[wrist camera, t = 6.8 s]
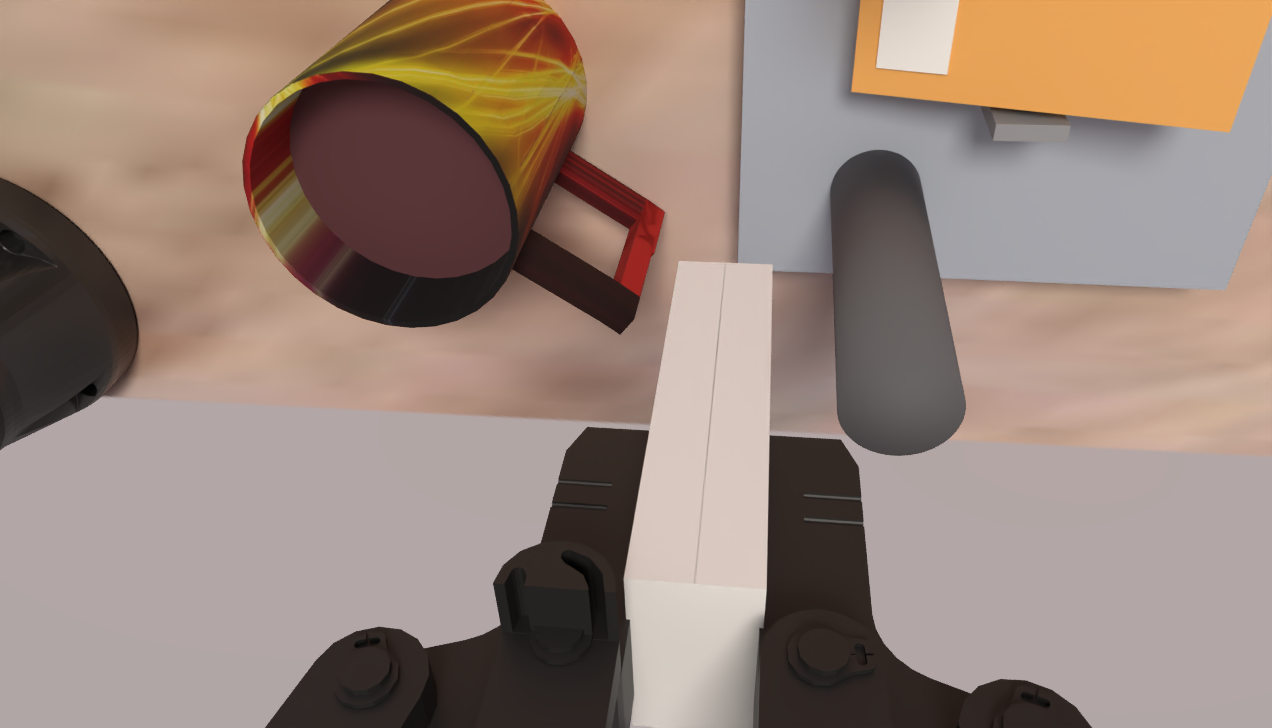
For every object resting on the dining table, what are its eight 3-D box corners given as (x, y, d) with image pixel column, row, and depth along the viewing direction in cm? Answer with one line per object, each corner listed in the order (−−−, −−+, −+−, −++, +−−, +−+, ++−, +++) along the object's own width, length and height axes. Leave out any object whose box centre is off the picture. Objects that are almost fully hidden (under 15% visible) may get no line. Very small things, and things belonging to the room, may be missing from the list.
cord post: (827, 228, 39) (832, 451, 28) (834, 148, 37) (842, 356, 26) (914, 231, 39) (954, 459, 28) (927, 150, 37) (975, 363, 26)
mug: (665, 215, 44) (625, 371, 34) (379, 163, 44) (261, 302, 35) (698, 6, 38) (660, 124, 28) (367, -51, 38) (222, 46, 29)
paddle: (860, 78, 35) (850, 96, 34) (879, -104, 31) (868, -93, 30) (1225, 116, 31) (1229, 137, 29) (1297, -89, 27) (1305, -75, 26)
